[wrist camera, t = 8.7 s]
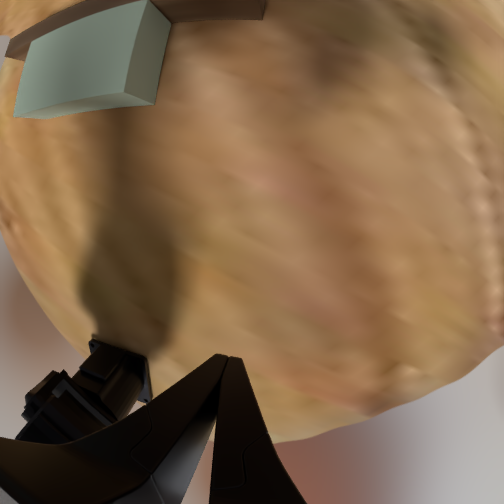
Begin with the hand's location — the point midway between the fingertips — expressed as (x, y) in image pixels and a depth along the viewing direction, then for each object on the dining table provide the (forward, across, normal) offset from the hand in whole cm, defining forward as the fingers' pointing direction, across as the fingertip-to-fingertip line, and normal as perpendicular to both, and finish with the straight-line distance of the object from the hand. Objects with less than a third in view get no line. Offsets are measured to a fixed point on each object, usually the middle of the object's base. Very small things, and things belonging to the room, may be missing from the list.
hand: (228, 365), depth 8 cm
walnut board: (+11, +14, -18) cm, 25 cm away
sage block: (+11, +15, -13) cm, 23 cm away
